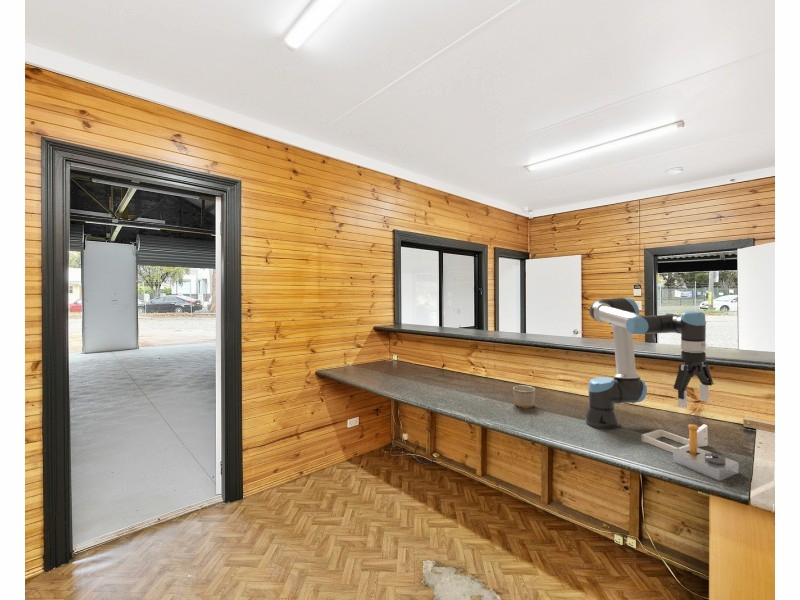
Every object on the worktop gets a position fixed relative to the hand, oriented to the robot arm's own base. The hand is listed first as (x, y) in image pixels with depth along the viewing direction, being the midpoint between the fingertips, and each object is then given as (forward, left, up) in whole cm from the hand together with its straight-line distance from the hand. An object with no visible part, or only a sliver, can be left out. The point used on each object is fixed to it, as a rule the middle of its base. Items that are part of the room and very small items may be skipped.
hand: (693, 403), depth 146 cm
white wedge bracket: (-8, +18, -25) cm, 32 cm away
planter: (-85, -12, -25) cm, 90 cm away
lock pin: (0, 0, -24) cm, 24 cm away
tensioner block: (+4, 0, -25) cm, 25 cm away
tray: (-14, +8, -25) cm, 30 cm away
